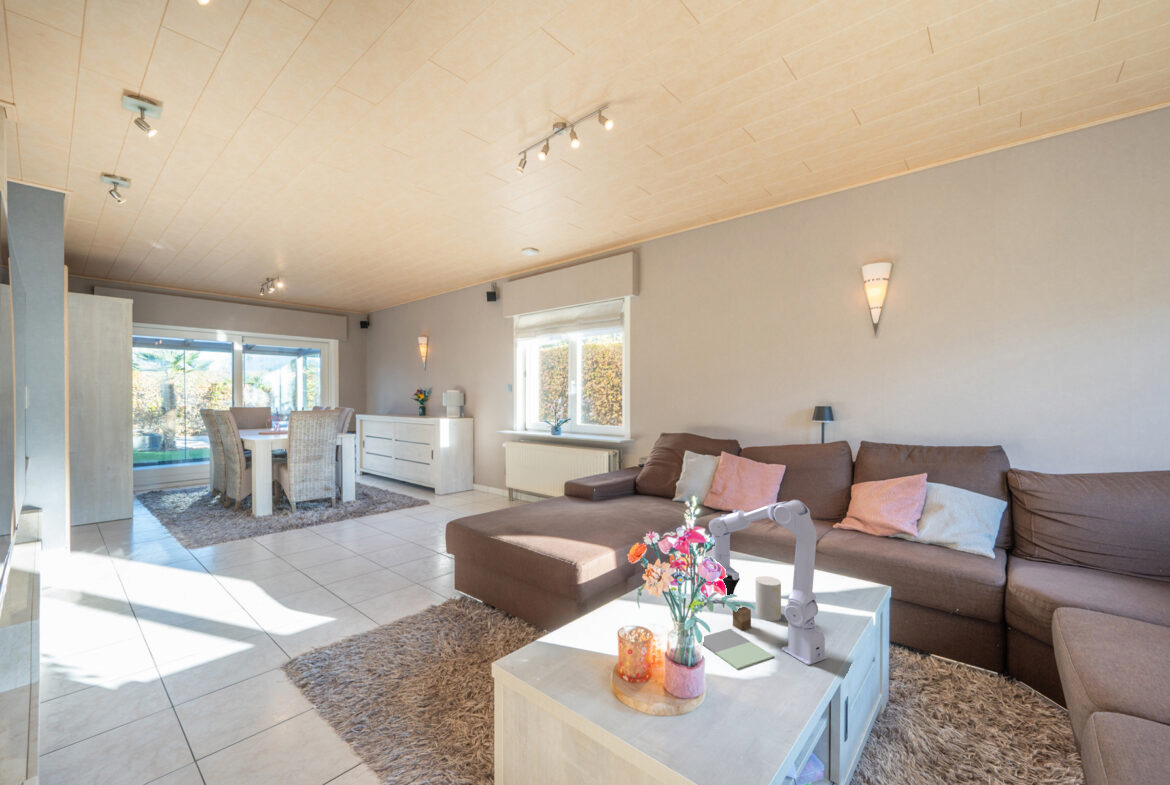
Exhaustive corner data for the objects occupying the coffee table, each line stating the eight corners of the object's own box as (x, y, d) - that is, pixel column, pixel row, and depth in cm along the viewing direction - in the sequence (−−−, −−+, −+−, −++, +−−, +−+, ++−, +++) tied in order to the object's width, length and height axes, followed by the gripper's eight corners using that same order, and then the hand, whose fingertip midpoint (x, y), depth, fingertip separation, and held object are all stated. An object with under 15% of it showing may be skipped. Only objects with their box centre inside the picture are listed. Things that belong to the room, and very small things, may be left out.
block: (750, 628, 157) (750, 609, 157) (741, 630, 155) (741, 612, 155) (742, 623, 160) (741, 605, 160) (732, 625, 159) (732, 607, 159)
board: (774, 657, 139) (774, 655, 139) (737, 669, 133) (737, 668, 133) (730, 630, 156) (730, 628, 156) (695, 639, 149) (695, 638, 149)
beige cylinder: (777, 623, 160) (776, 587, 160) (752, 616, 165) (752, 581, 165) (783, 614, 166) (783, 579, 166) (760, 608, 171) (759, 574, 171)
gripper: (697, 548, 166) (697, 588, 166) (727, 561, 153) (727, 604, 153) (713, 545, 169) (713, 584, 169) (743, 558, 156) (744, 600, 156)
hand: (721, 593), depth 161 cm, fingers open, 7 cm apart
